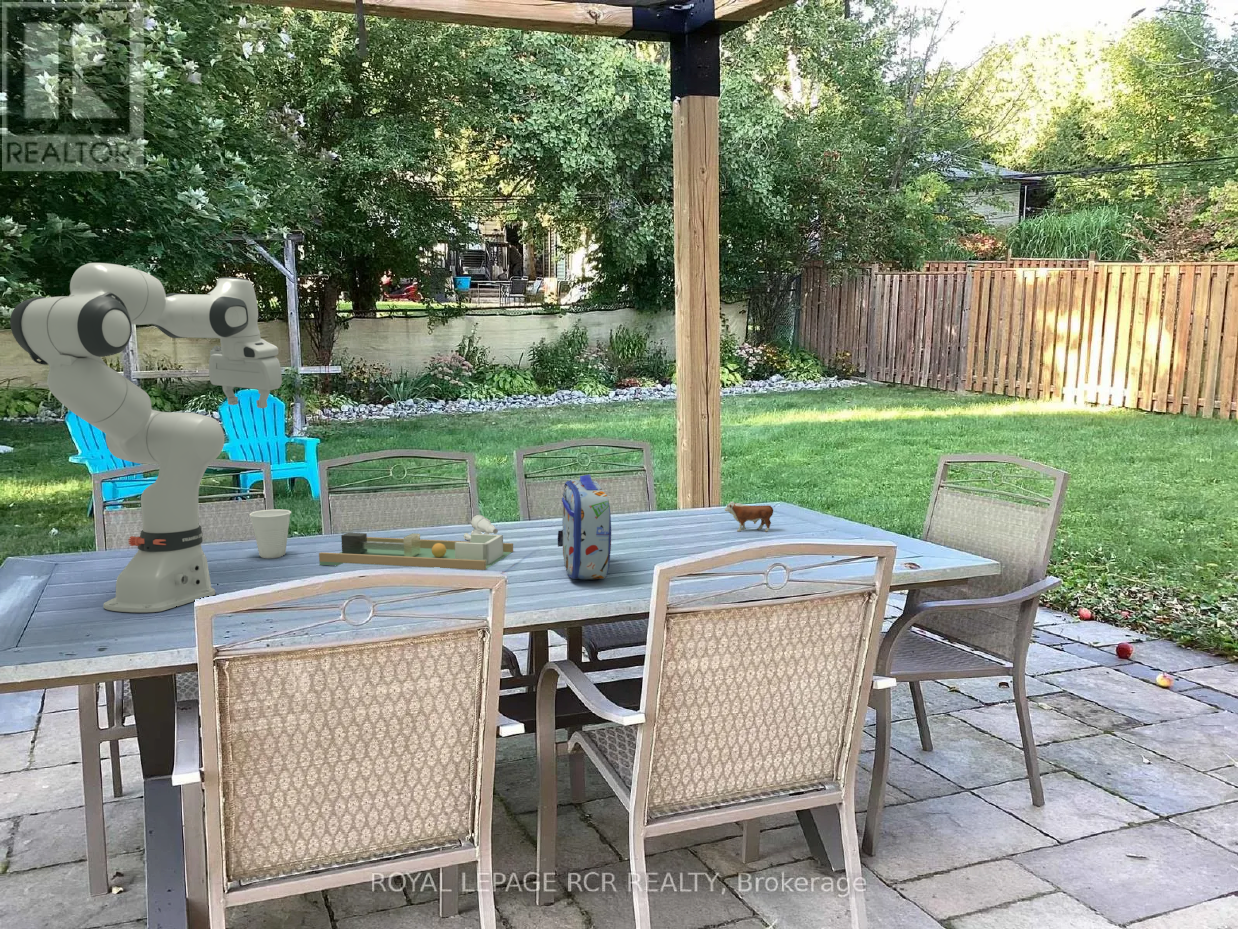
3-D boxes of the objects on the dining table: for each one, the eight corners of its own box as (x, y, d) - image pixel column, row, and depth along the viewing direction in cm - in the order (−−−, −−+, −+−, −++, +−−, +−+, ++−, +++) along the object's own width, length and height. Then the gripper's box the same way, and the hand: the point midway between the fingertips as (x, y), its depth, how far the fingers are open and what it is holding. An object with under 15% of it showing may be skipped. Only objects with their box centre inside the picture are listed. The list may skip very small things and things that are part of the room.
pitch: (484, 574, 231) (484, 561, 231) (319, 565, 241) (318, 553, 240) (513, 555, 251) (513, 543, 250) (359, 548, 260) (359, 536, 260)
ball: (443, 559, 242) (442, 545, 242) (429, 558, 243) (429, 544, 243) (448, 556, 246) (448, 542, 245) (435, 555, 246) (434, 541, 246)
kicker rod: (411, 557, 243) (411, 537, 243) (340, 553, 248) (339, 534, 247) (420, 553, 248) (419, 533, 247) (350, 549, 252) (349, 530, 252)
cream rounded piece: (488, 555, 259) (473, 542, 257) (471, 545, 271) (457, 533, 269) (508, 531, 260) (493, 519, 258) (490, 523, 273) (476, 510, 271)
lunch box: (556, 559, 246) (555, 470, 243) (598, 558, 247) (597, 469, 244) (569, 587, 219) (568, 487, 216) (616, 585, 220) (615, 486, 217)
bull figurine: (724, 528, 283) (724, 500, 282) (772, 529, 281) (773, 500, 280) (724, 531, 278) (724, 502, 277) (773, 532, 277) (773, 503, 275)
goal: (487, 565, 236) (486, 544, 235) (455, 563, 237) (454, 542, 237) (503, 555, 246) (502, 535, 246) (472, 553, 248) (472, 533, 247)
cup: (280, 561, 246) (277, 517, 244) (243, 559, 248) (241, 515, 246) (300, 552, 255) (298, 509, 254) (265, 551, 257) (263, 508, 256)
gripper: (199, 346, 235) (205, 404, 239) (262, 351, 226) (268, 411, 230) (220, 343, 241) (226, 400, 244) (283, 348, 232) (289, 407, 235)
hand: (247, 406), depth 237 cm, fingers open, 8 cm apart
